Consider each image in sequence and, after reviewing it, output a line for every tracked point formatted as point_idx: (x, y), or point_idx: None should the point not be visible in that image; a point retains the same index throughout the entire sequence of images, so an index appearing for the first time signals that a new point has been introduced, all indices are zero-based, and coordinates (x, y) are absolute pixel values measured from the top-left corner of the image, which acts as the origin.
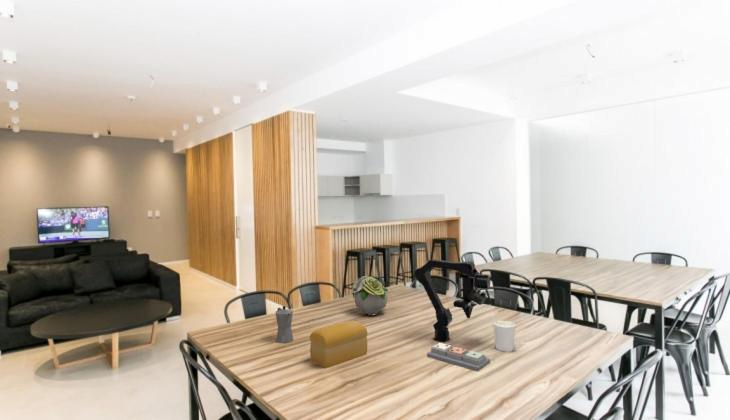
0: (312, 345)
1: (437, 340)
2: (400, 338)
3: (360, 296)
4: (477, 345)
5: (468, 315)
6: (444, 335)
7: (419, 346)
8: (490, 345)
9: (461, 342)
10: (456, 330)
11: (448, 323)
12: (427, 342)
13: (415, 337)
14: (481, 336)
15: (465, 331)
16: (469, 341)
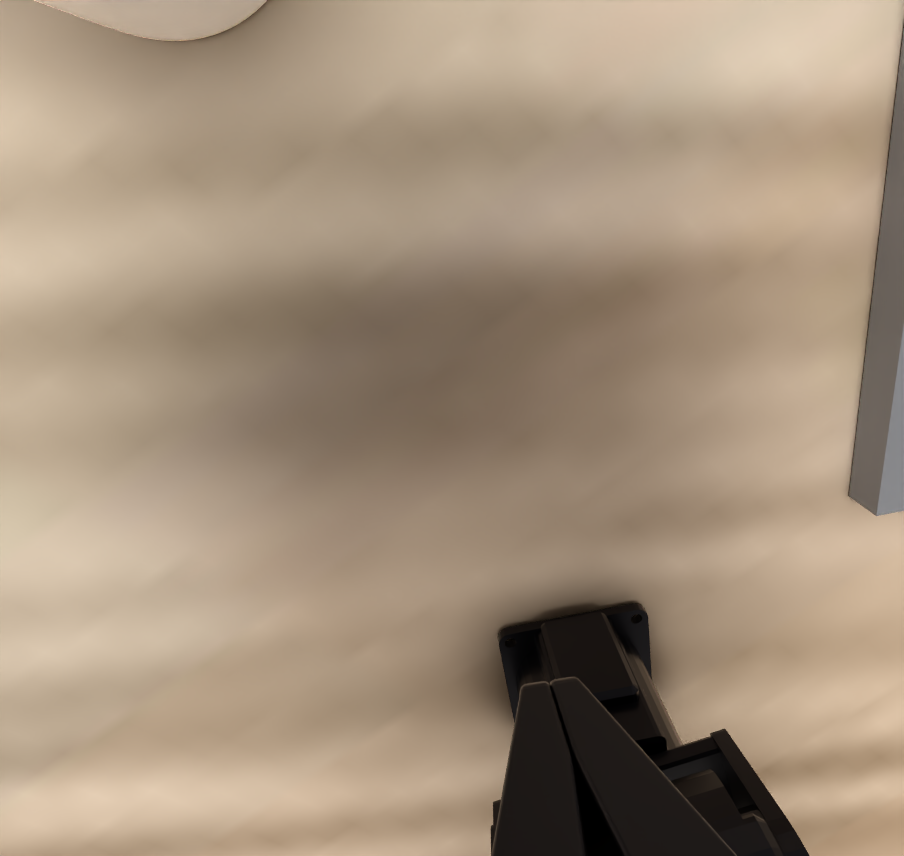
0: None
1: (648, 664)
2: (809, 845)
3: None
4: (414, 288)
5: (652, 774)
6: (633, 668)
7: (898, 656)
8: (247, 149)
9: (487, 489)
10: (207, 750)
11: (711, 801)
12: (750, 683)
13: None
14: (76, 474)
15: (135, 686)
16: (375, 452)
